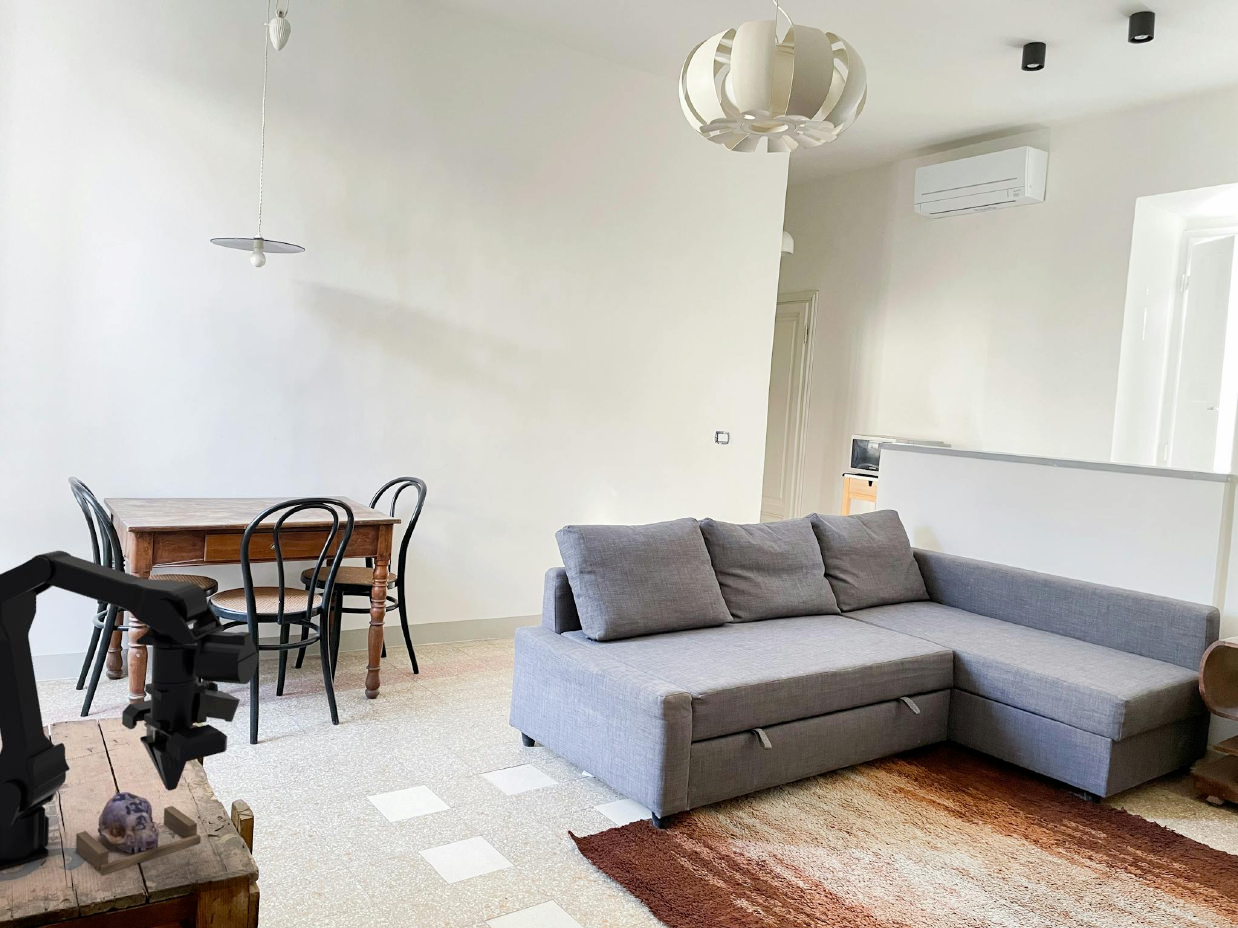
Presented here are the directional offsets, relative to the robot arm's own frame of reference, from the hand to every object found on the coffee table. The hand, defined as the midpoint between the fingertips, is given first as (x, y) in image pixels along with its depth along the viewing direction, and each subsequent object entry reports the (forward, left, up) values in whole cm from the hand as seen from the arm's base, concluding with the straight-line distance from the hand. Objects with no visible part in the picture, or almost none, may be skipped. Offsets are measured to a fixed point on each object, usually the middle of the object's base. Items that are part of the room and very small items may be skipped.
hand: (171, 788), depth 125 cm
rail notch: (0, +9, -12) cm, 15 cm away
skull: (0, +11, -12) cm, 16 cm away
